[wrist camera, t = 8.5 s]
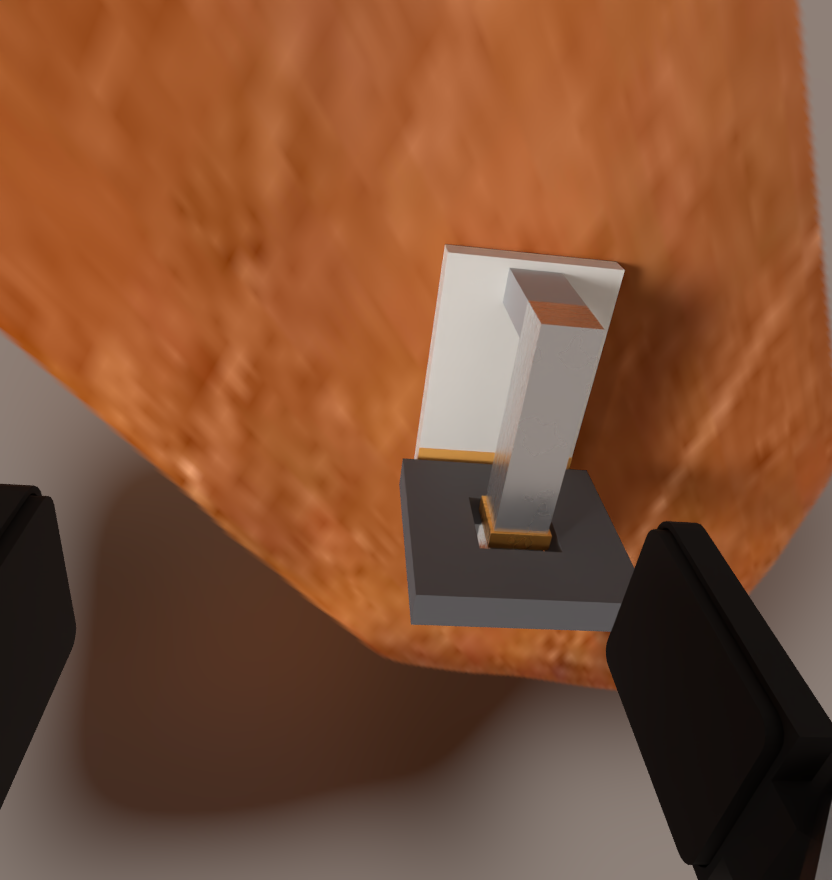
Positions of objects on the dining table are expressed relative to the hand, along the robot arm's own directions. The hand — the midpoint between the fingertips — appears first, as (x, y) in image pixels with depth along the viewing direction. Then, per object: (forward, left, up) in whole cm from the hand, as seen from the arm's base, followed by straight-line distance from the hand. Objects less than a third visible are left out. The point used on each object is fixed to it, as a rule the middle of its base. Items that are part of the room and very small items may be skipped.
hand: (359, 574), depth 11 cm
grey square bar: (+13, +10, -24) cm, 29 cm away
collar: (+17, +10, -28) cm, 35 cm away
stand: (+13, +10, -30) cm, 34 cm away
